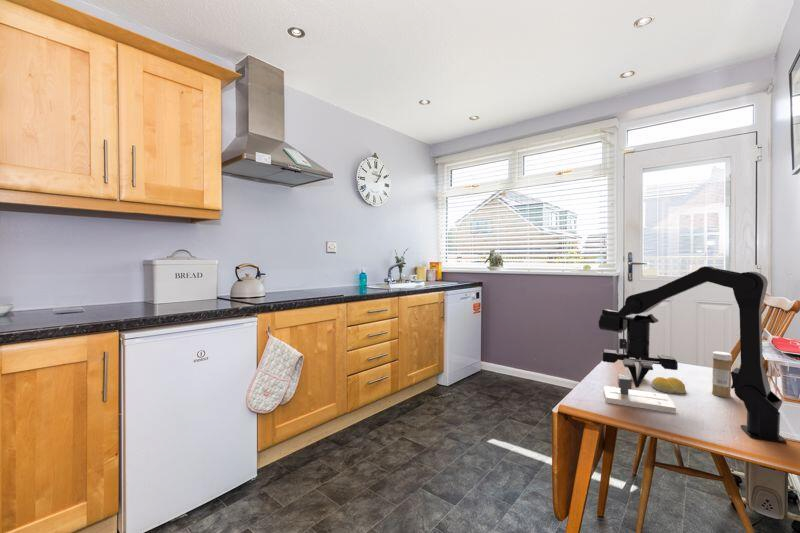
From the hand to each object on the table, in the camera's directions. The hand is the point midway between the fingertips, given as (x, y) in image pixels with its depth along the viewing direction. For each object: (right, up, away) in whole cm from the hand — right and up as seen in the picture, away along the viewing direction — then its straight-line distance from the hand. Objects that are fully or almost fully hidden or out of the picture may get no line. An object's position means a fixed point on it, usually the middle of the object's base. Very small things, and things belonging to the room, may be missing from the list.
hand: (636, 387), depth 111 cm
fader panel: (0, -4, 0) cm, 4 cm away
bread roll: (+17, -4, +10) cm, 20 cm away
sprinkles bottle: (+30, -4, +5) cm, 30 cm away
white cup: (+14, -4, +22) cm, 26 cm away
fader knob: (-3, -2, +1) cm, 4 cm away
